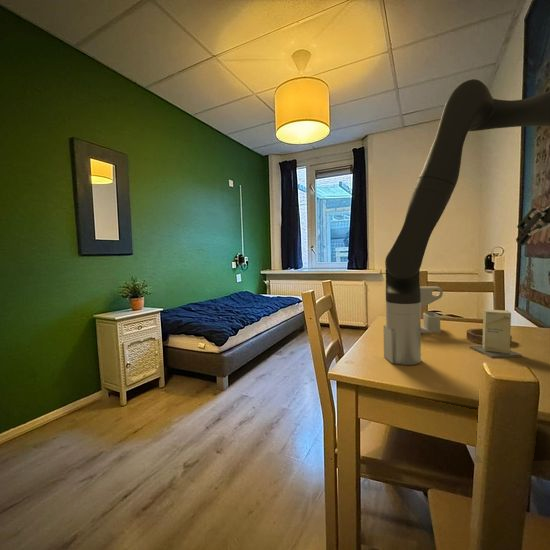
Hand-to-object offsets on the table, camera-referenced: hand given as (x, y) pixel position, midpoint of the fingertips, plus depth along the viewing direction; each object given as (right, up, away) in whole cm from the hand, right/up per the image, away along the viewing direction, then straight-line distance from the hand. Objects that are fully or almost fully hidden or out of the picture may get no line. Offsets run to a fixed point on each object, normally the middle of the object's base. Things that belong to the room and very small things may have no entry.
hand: (535, 242), depth 76 cm
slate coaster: (-1, -32, +12) cm, 34 cm away
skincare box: (-1, -32, +12) cm, 34 cm away
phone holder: (-12, -31, +41) cm, 52 cm away
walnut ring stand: (+5, -31, +24) cm, 39 cm away
